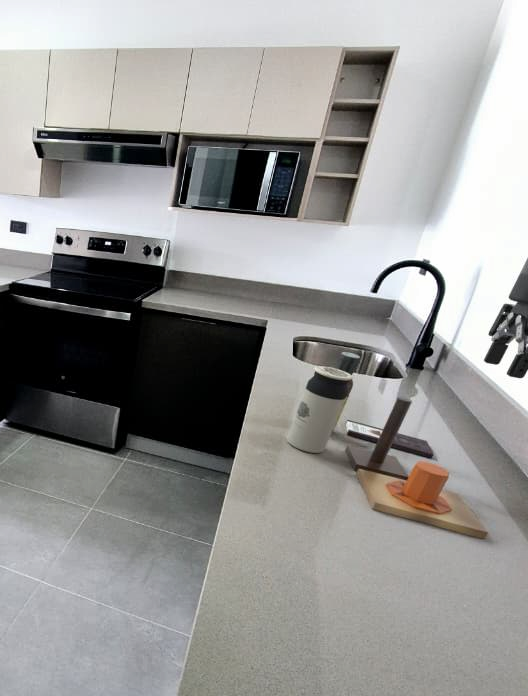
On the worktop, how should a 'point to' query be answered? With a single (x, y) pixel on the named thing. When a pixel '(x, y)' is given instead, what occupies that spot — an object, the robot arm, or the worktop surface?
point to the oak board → (385, 502)
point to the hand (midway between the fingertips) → (501, 369)
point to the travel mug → (319, 409)
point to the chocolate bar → (399, 442)
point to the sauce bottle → (347, 365)
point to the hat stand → (383, 446)
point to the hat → (423, 488)
